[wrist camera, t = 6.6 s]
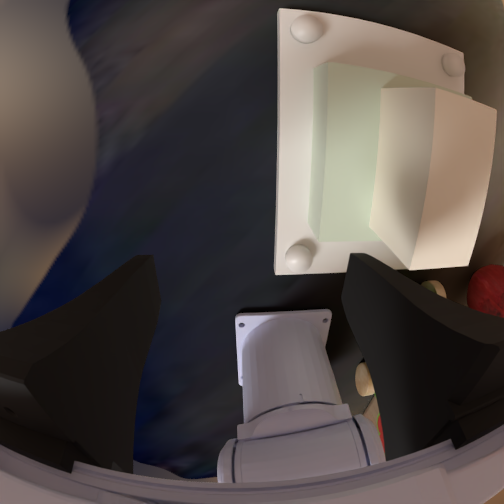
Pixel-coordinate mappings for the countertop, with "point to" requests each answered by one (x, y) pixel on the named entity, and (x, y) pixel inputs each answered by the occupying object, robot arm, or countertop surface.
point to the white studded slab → (340, 130)
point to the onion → (487, 290)
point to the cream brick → (431, 175)
